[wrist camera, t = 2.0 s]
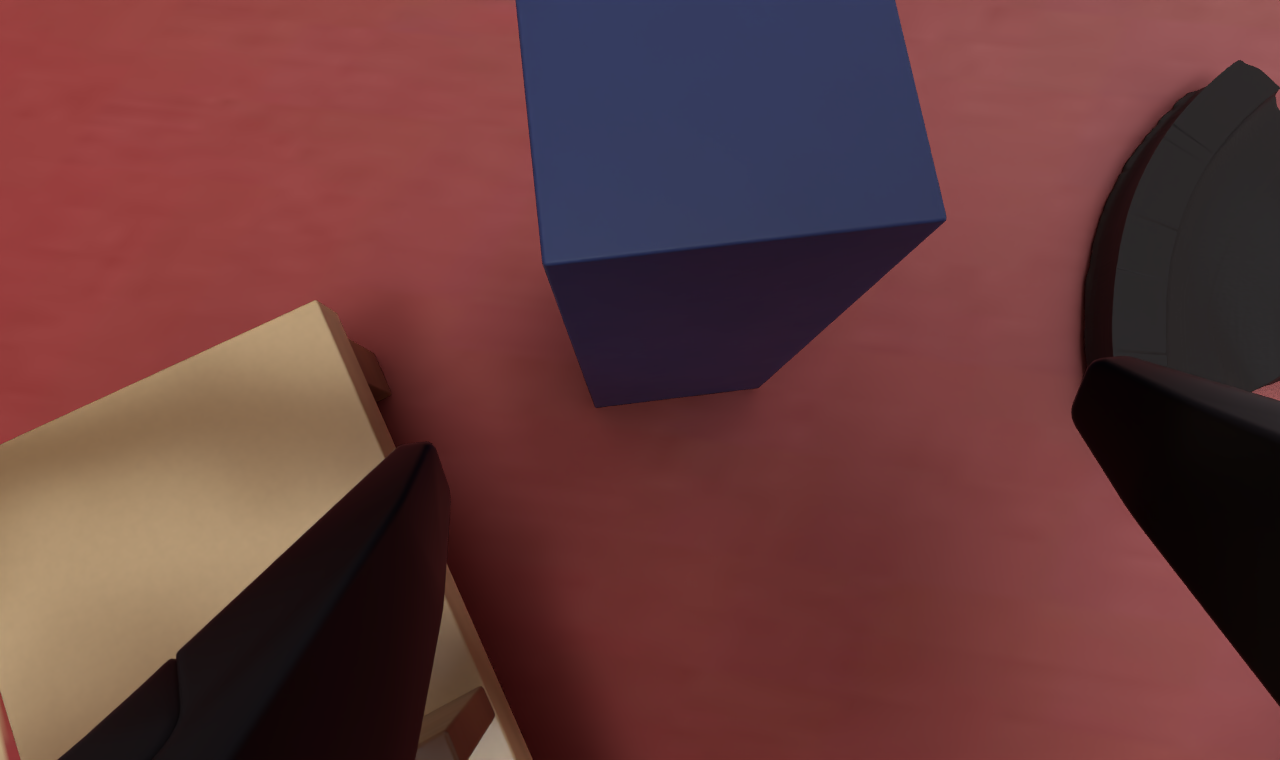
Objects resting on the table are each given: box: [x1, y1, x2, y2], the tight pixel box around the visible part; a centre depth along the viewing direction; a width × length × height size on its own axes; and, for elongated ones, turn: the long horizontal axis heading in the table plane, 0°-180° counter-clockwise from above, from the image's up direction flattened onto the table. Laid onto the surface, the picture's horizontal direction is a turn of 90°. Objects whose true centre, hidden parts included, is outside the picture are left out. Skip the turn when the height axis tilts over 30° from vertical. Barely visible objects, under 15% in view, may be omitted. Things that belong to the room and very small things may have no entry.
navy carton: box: [516, 0, 946, 408], centre depth 15 cm, size 5×6×12 cm
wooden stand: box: [0, 300, 533, 760], centre depth 15 cm, size 18×10×8 cm, turn 27°
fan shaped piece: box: [1084, 60, 1280, 392], centre depth 21 cm, size 8×14×2 cm, turn 138°
